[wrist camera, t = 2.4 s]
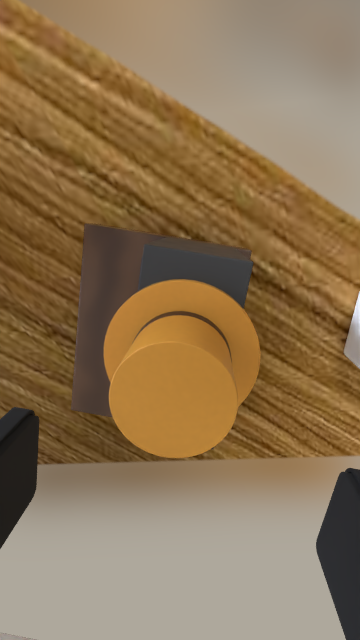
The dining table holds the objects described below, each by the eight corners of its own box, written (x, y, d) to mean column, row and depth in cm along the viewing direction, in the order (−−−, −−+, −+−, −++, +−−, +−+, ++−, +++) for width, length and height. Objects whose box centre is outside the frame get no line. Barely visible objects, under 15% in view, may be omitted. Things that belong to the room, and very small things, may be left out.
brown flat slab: (84, 392, 39) (70, 410, 35) (98, 223, 34) (84, 223, 30) (212, 414, 39) (212, 435, 35) (246, 247, 33) (251, 250, 30)
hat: (99, 408, 21) (64, 470, 16) (114, 266, 19) (77, 283, 13) (241, 433, 21) (254, 505, 16) (274, 293, 19) (303, 321, 13)
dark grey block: (148, 360, 33) (118, 432, 22) (165, 236, 30) (141, 243, 18) (210, 371, 33) (213, 449, 21) (234, 247, 30) (253, 261, 18)
